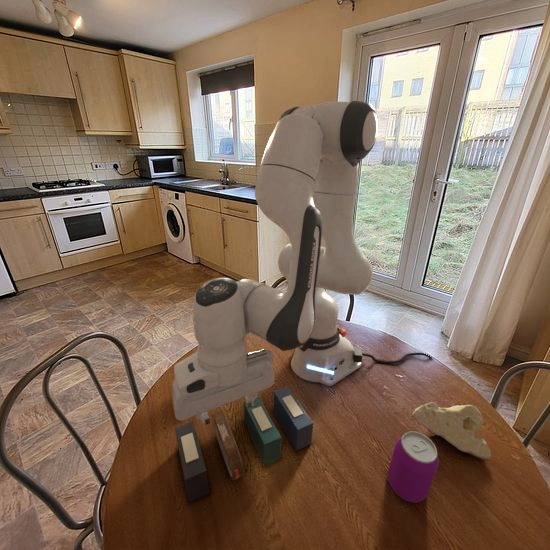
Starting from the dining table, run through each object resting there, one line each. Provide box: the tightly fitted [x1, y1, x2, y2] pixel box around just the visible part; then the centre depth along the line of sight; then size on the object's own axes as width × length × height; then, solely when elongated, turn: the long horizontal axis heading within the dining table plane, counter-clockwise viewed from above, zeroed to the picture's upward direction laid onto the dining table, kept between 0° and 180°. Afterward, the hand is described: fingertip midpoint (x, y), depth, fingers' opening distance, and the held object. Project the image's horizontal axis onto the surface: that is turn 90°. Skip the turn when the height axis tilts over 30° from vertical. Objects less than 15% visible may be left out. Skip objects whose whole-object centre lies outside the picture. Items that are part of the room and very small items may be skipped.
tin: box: [211, 409, 246, 481], centre depth 63 cm, size 15×3×8 cm, turn 26°
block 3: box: [272, 385, 314, 451], centre depth 71 cm, size 4×12×7 cm, turn 26°
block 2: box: [243, 396, 282, 467], centre depth 67 cm, size 4×12×7 cm, turn 26°
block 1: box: [174, 420, 210, 503], centre depth 61 cm, size 4×12×7 cm, turn 26°
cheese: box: [411, 400, 492, 460], centre depth 69 cm, size 15×7×15 cm
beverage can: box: [387, 430, 440, 504], centre depth 58 cm, size 8×8×12 cm
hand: (228, 413), depth 61 cm, fingers open, 8 cm apart
